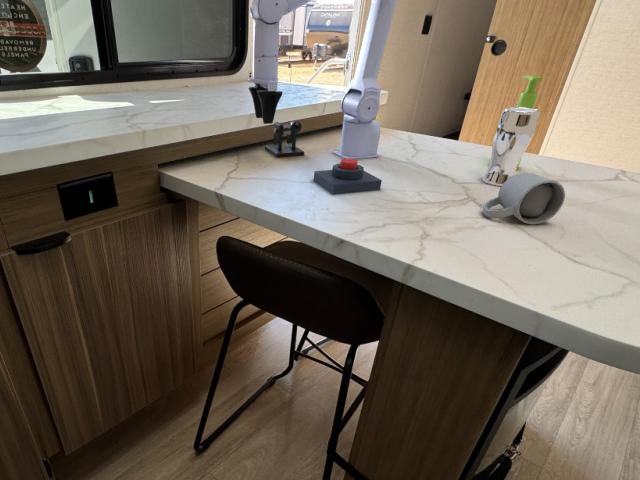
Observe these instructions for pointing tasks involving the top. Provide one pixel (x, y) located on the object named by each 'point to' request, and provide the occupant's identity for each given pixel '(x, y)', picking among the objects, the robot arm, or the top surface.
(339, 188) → the control block
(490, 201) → the ceramic mug
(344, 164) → the button
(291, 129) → the switch lever
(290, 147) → the switch bracket
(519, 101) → the soap dispenser
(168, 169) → the top surface
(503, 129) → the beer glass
